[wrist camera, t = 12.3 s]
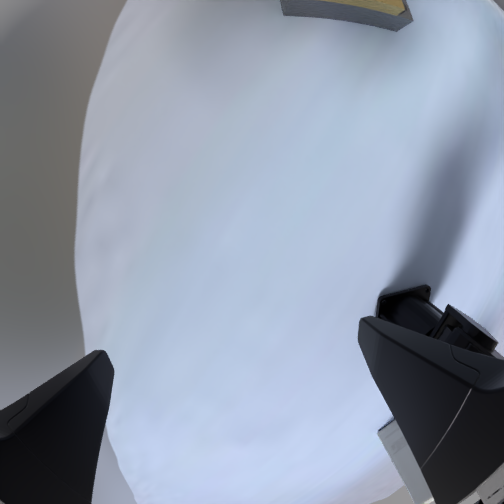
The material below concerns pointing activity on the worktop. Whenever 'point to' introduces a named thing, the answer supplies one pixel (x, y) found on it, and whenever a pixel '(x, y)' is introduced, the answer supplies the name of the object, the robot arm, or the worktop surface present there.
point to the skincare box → (405, 463)
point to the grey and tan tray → (353, 11)
